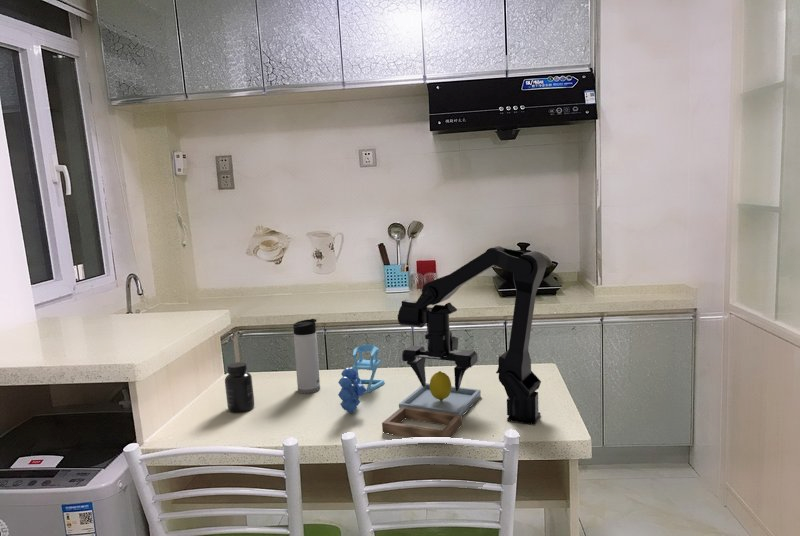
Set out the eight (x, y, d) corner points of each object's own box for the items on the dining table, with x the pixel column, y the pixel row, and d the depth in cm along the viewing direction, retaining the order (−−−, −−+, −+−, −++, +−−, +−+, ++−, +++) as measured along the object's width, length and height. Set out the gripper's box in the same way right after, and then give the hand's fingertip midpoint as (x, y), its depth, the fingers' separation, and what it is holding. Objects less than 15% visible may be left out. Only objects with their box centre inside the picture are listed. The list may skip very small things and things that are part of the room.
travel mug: (325, 389, 158) (320, 320, 155) (303, 395, 155) (298, 324, 152) (315, 383, 163) (310, 316, 161) (294, 389, 160) (289, 320, 157)
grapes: (361, 422, 134) (358, 374, 133) (334, 421, 136) (331, 374, 134) (373, 404, 146) (371, 359, 144) (348, 403, 147) (346, 359, 145)
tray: (480, 396, 148) (480, 389, 147) (459, 419, 134) (459, 412, 133) (425, 389, 155) (424, 383, 155) (399, 410, 141) (399, 403, 140)
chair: (350, 392, 155) (347, 350, 154) (359, 381, 163) (356, 342, 162) (376, 393, 154) (374, 351, 152) (384, 382, 162) (382, 342, 160)
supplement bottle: (246, 401, 152) (242, 358, 150) (259, 407, 147) (255, 363, 145) (222, 409, 147) (218, 365, 146) (235, 415, 142) (231, 370, 141)
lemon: (450, 405, 141) (449, 375, 139) (429, 405, 142) (427, 375, 140) (453, 396, 146) (451, 367, 145) (432, 396, 147) (430, 367, 146)
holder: (462, 425, 130) (461, 415, 130) (445, 444, 121) (444, 433, 121) (402, 416, 137) (402, 406, 137) (382, 433, 128) (382, 422, 128)
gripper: (483, 324, 144) (485, 382, 147) (417, 319, 153) (420, 374, 155) (469, 334, 135) (471, 397, 137) (399, 329, 143) (402, 388, 145)
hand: (440, 388), depth 144 cm, fingers open, 9 cm apart
